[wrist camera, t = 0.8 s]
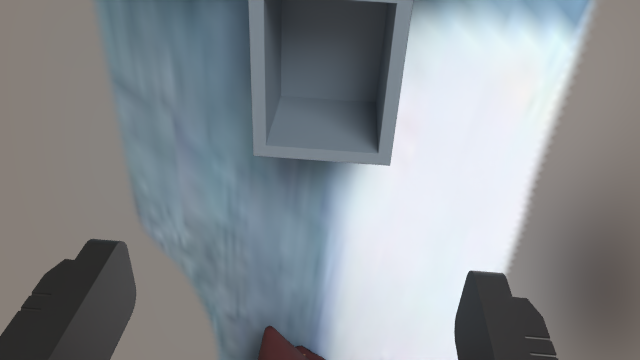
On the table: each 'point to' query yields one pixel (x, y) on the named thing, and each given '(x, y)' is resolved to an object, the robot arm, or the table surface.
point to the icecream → (282, 348)
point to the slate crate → (327, 77)
